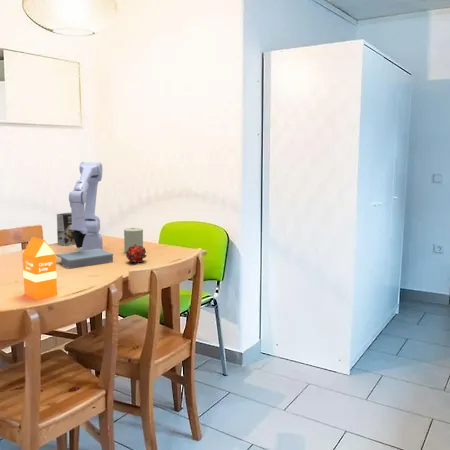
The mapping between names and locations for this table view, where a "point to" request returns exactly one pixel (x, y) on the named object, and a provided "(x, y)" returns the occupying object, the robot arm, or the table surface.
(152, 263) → the table surface
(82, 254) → the lid
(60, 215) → the coffee box
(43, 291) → the orange juice
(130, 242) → the can
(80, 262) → the grey hinged box
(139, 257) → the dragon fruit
